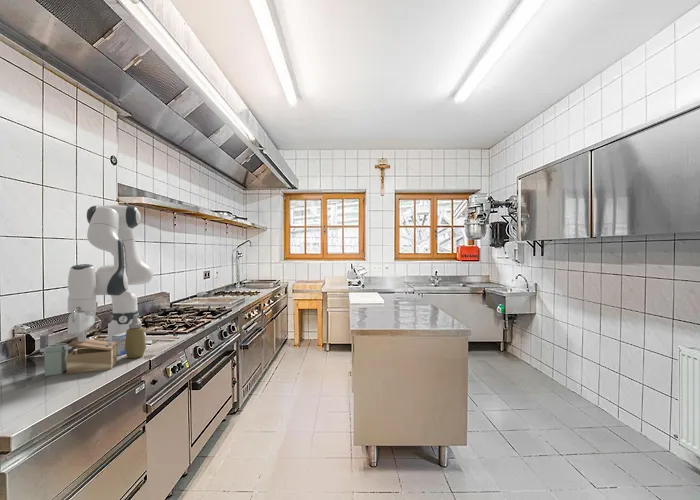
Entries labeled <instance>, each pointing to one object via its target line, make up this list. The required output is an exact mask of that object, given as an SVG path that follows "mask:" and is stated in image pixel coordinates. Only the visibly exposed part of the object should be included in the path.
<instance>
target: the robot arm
mask: <svg viewBox="0 0 700 500" xmlns="http://www.w3.org/2000/svg"><path fill="white" fill-rule="evenodd" d="M141 216H142V215H141V211H140V210H139V209H138V208H137V207H136V206H133V205H128V206H127V205H122V204H112V205H110V204H109V205H108V204H107V205H100V204H98V205H92V206H90V207H89V208H88V209H87V211H86V219H87V223H88V224H89V225H88V229H87V233H86V236H87V237H86V238H87V240H88V242H89V243H90V244H91V245H92V246H93V247H94V248H97V249H98V250H101V251H104V252H107V253H110V254H111V255H112V256H113V264H107V265H103V266H100V267H99V268H97V270H96V269H95V266H94V265H93V264H89V263H84V264H75V265H72V266H70V269H69V272H68V277H67V278H68V279H67V290H68V297H67V312H69V313H70V314H69V315H68V319H67V334H68V335H76V338H78V342H84V341H85V340H86V339H87V334H88V329H89V328H91V327H93V326H94V324H95V321H96V313H97V308H98V307H99V306H98V302H97V296H110V297H111V298H110V299H111V302H112V305H111V306H112V312H111V314H110V315H111V321H110V322H109V323H108V324H107V325H108V327H107V336H106V337H103V341H110V342H112V336H114V335H117V334H121V333H124V332H126V331H127V330H128V329H130V328H129V324H131V323H132V320H133V316H134V315H137V318H138V322H139V323H141V324H142V321H141V320H140V319H139V317H140V316H139V314H140V313H139V310H138V301H139V300H138V296H137V295H136V294H135V293H134V292H131V291H129V290H128V287H129V286H139V285H146V284H149V283H150V282H151V280H152V279H153V276H154V271H153V269H152V267H151V266H150V265H148V264H146V263H145V262H144V261H143V260H142V259H141V258H140V256H139V255H138V252H137V246H136V236H135V230H134V228H136V227H137V226H138V225H140V222H141V218H142V217H141ZM144 334H145V338H146V337H147V334H146V331H145V332H144Z"/></svg>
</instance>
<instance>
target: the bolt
mask: <svg viewBox="0 0 700 500" xmlns="http://www.w3.org/2000/svg"><path fill="white" fill-rule="evenodd" d="M68 344H69V343H67V345H56V346H63V350H68V351H69V350H71V349H72V348H73V347H72V346H68ZM46 347H54V346H50V345H49V334H42V335H40V336H39V353H46Z"/></svg>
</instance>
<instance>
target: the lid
mask: <svg viewBox="0 0 700 500" xmlns="http://www.w3.org/2000/svg"><path fill="white" fill-rule="evenodd" d="M67 344H68V346H72V348H91V349H101V350H112V349H113V348H114V347H115V345H116V344H117V342H112V341H104V340H100V339H90V338H86V340H85V341H84V342H78V337H76V338H75V339H74V340H72V341H70V342H68V343H67Z"/></svg>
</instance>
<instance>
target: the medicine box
mask: <svg viewBox="0 0 700 500" xmlns="http://www.w3.org/2000/svg"><path fill="white" fill-rule="evenodd" d="M125 340H126V332H124V333H121V334H117V335H114V336H112V341H111V342H117V344H116V345H117V356H122V355H125V354H126V352H125V350H124V349H125Z"/></svg>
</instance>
